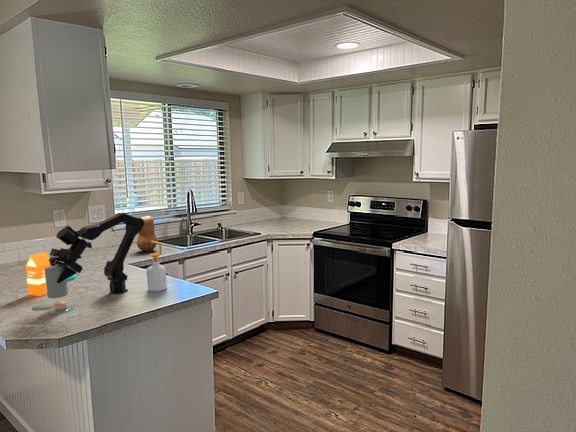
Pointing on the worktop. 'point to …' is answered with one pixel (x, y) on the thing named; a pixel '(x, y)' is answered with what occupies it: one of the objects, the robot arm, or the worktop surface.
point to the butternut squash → (147, 235)
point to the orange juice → (37, 273)
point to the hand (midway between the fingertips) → (52, 281)
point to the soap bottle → (156, 273)
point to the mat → (43, 306)
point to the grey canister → (55, 282)
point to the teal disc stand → (60, 308)
